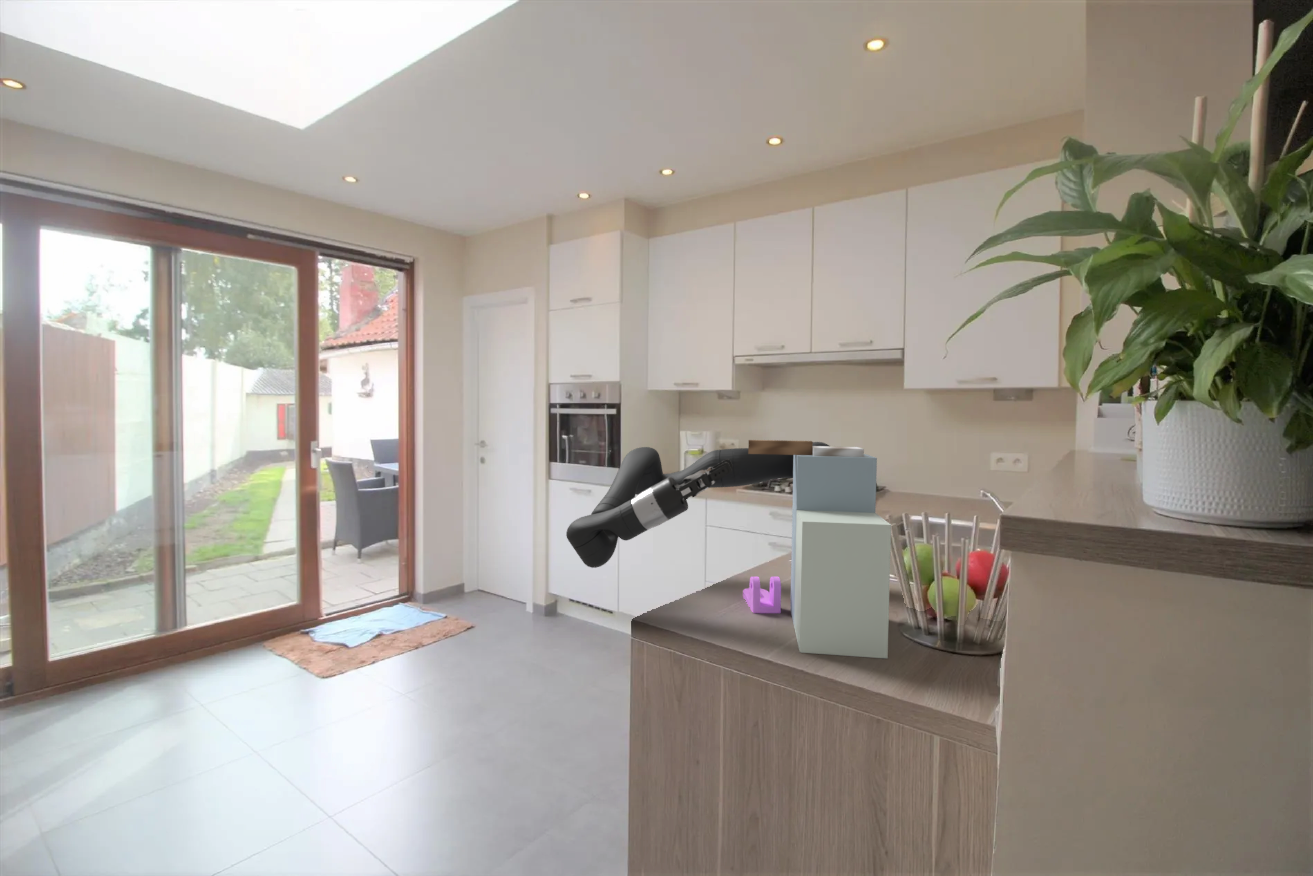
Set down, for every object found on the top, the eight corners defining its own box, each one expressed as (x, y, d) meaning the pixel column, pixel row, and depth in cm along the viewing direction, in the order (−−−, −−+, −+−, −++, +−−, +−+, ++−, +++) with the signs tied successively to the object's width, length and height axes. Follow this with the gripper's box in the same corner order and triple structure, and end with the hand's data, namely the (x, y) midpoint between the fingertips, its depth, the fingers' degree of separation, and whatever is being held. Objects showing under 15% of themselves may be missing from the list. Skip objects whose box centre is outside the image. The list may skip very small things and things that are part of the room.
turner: (748, 454, 113) (748, 440, 112) (748, 452, 119) (748, 439, 119) (863, 457, 109) (864, 442, 109) (856, 454, 116) (857, 441, 116)
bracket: (780, 613, 119) (781, 579, 119) (752, 614, 119) (753, 579, 118) (765, 594, 132) (766, 563, 132) (740, 594, 132) (741, 563, 131)
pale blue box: (799, 652, 99) (803, 461, 98) (790, 609, 121) (793, 452, 120) (887, 658, 97) (892, 463, 96) (861, 614, 119) (866, 454, 117)
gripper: (644, 491, 112) (719, 450, 110) (655, 483, 126) (722, 446, 124) (663, 526, 112) (739, 485, 109) (673, 514, 126) (740, 477, 123)
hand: (730, 464), depth 117 cm, fingers open, 8 cm apart
